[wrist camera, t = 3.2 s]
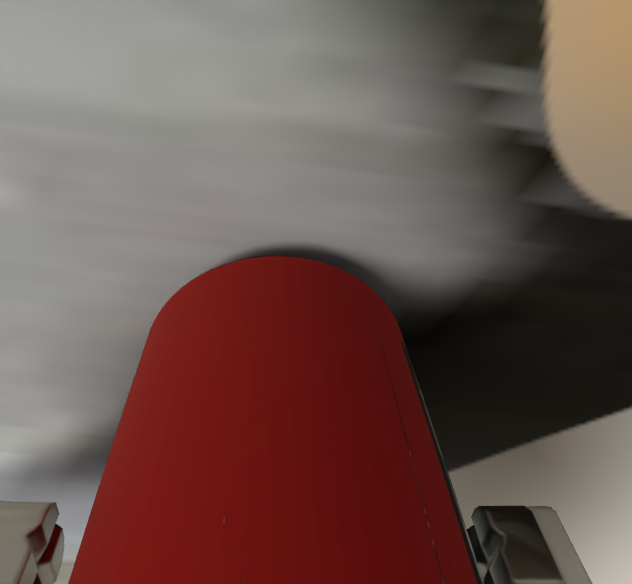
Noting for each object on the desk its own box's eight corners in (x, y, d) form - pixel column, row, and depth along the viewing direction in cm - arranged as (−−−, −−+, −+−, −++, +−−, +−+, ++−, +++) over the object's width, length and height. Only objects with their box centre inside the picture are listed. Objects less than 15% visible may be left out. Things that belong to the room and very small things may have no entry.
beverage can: (294, 462, 18) (323, 1161, 8) (102, 365, 15) (-245, 1247, 5) (450, 329, 15) (804, 1122, 5) (250, 183, 12) (153, 1262, 2)
